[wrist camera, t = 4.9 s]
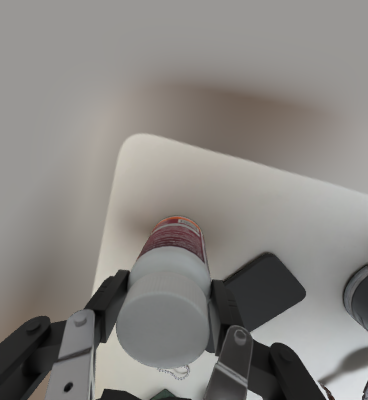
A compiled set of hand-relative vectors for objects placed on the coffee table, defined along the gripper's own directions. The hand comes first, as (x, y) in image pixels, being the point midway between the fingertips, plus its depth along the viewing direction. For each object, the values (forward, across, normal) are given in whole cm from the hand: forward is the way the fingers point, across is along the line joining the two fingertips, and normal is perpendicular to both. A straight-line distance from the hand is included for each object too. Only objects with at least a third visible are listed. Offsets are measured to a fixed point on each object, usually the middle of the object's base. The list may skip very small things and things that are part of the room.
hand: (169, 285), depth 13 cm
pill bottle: (+8, 0, 0) cm, 8 cm away
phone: (+8, -8, +8) cm, 14 cm away
